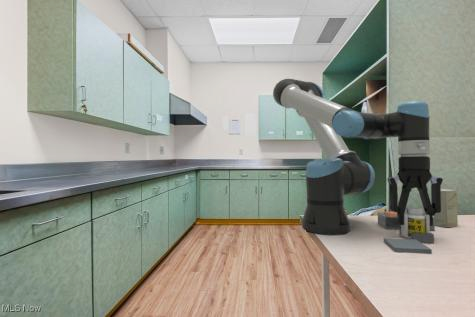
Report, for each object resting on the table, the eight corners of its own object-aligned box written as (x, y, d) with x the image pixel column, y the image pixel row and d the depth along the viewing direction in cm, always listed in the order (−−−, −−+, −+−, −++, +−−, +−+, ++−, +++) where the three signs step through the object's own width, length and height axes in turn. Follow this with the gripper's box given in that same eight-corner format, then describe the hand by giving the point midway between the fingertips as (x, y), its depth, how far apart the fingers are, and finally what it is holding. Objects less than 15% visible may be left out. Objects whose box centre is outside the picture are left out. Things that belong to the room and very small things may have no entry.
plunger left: (387, 225, 86) (387, 213, 86) (384, 222, 89) (384, 211, 89) (398, 225, 85) (398, 213, 85) (394, 223, 88) (394, 211, 88)
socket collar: (434, 243, 69) (433, 234, 69) (414, 242, 70) (413, 233, 70) (417, 233, 78) (417, 225, 78) (399, 233, 79) (399, 225, 79)
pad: (394, 251, 63) (394, 247, 63) (383, 241, 71) (383, 238, 71) (431, 253, 61) (431, 249, 61) (416, 243, 69) (416, 239, 69)
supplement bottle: (403, 237, 74) (403, 208, 74) (407, 234, 77) (406, 206, 77) (424, 241, 71) (423, 210, 71) (426, 237, 74) (425, 207, 74)
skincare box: (447, 228, 84) (446, 190, 84) (432, 225, 88) (431, 189, 88) (458, 225, 86) (457, 189, 86) (443, 223, 90) (442, 188, 90)
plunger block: (385, 229, 84) (385, 217, 84) (377, 223, 91) (377, 212, 91) (434, 230, 81) (434, 218, 81) (422, 224, 88) (421, 213, 88)
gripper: (384, 156, 72) (385, 238, 72) (457, 155, 68) (459, 242, 68) (376, 156, 80) (377, 231, 79) (441, 155, 76) (443, 234, 76)
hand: (415, 236), depth 74 cm, fingers closed on supplement bottle, 5 cm apart
